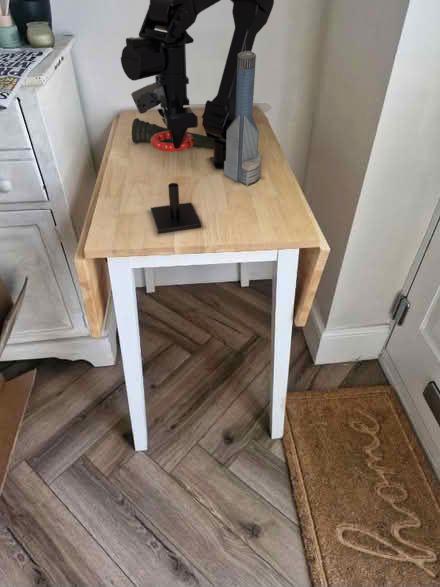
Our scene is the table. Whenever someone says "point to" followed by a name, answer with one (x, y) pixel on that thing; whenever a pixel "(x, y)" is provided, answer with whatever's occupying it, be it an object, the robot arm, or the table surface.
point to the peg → (175, 214)
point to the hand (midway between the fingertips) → (175, 146)
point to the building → (243, 127)
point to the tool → (146, 131)
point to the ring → (169, 146)
